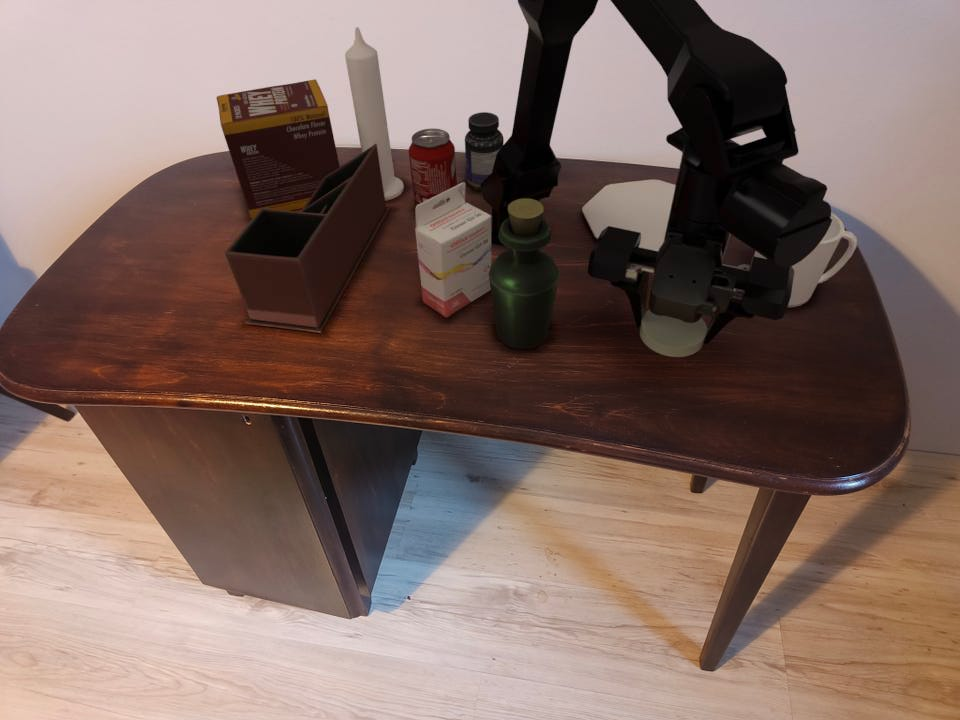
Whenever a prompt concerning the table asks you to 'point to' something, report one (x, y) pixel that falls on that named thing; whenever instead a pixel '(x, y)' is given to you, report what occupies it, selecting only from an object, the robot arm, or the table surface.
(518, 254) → the potion bottle
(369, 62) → the candle
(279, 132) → the supplement box
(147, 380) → the table surface
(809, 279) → the mug
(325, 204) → the desk organizer
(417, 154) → the soda can
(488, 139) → the pill bottle
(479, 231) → the ink cartridge box
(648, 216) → the plate
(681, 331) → the green cylinder
